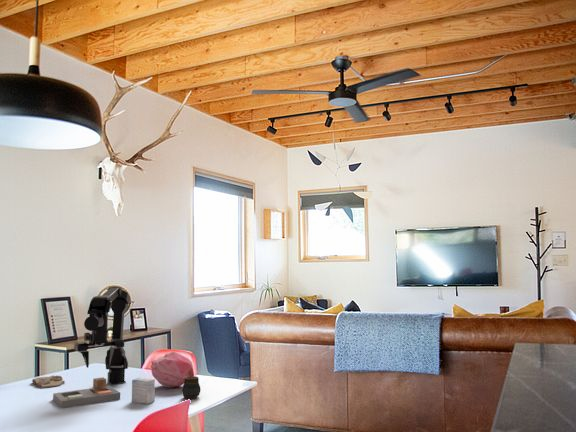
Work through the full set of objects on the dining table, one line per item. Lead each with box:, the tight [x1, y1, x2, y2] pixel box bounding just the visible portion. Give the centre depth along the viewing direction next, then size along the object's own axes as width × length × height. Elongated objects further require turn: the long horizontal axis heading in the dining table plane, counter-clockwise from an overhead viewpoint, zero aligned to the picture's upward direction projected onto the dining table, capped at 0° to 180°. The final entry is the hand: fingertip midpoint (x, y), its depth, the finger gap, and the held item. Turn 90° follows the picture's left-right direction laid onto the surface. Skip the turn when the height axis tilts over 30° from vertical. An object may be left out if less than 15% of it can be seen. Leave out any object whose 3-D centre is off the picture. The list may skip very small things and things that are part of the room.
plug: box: [92, 376, 107, 393], centre depth 216 cm, size 4×4×7 cm
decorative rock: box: [150, 351, 195, 389], centre depth 233 cm, size 19×14×15 cm
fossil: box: [31, 375, 65, 389], centre depth 237 cm, size 11×15×4 cm
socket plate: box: [52, 385, 121, 409], centre depth 211 cm, size 22×14×3 cm, turn 126°
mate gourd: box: [181, 371, 202, 400], centre depth 215 cm, size 7×8×10 cm
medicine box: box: [131, 377, 156, 405], centre depth 208 cm, size 8×4×9 cm, turn 65°
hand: (99, 366), depth 217 cm, fingers open, 9 cm apart
